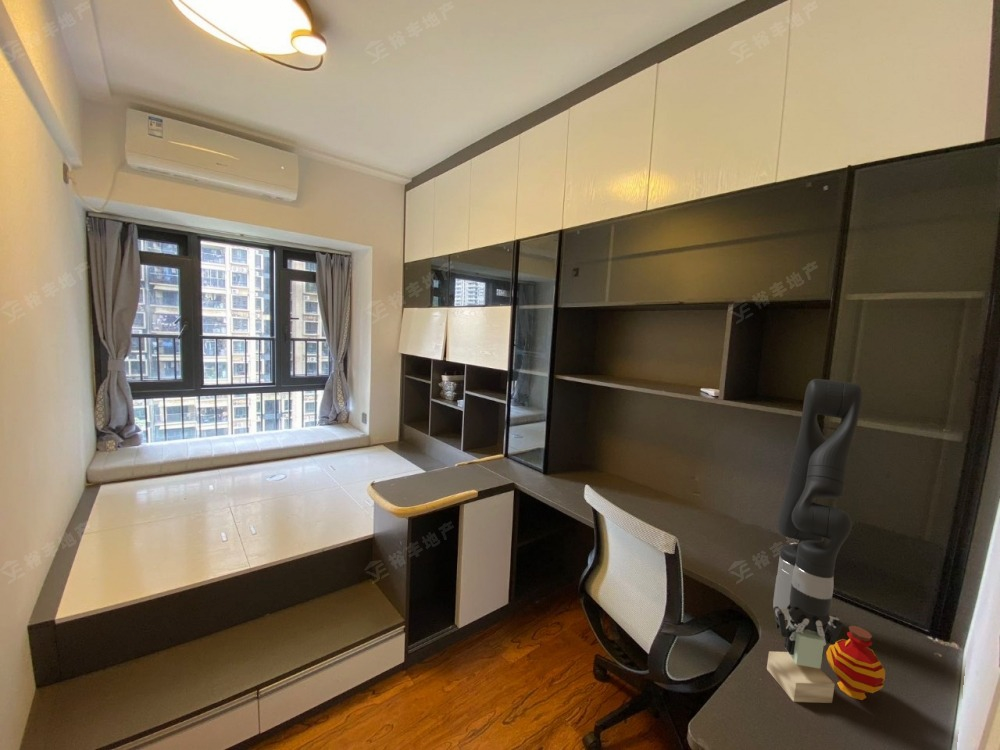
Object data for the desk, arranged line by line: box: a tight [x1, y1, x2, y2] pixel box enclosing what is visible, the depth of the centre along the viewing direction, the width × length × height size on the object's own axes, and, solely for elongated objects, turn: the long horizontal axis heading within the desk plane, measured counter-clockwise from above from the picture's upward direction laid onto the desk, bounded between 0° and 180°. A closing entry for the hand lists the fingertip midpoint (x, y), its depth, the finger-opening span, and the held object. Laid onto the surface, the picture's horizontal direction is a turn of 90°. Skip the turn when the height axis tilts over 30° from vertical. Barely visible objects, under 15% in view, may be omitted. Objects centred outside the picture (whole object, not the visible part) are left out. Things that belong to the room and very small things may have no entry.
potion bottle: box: [826, 625, 886, 701], centre depth 94 cm, size 10×10×15 cm
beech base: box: [766, 651, 836, 704], centre depth 95 cm, size 9×9×5 cm
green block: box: [784, 624, 825, 669], centre depth 94 cm, size 5×5×7 cm
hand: (802, 654), depth 95 cm, fingers closed on green block, 5 cm apart
